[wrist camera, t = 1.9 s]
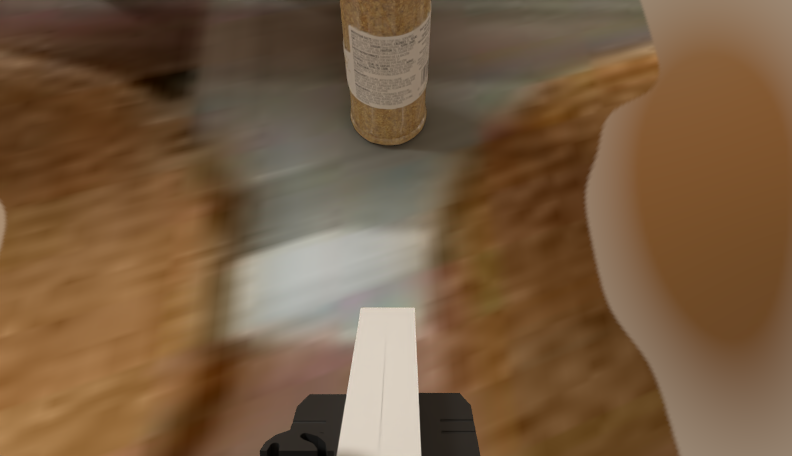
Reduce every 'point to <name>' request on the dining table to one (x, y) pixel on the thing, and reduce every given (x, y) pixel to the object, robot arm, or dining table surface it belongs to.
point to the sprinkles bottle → (387, 66)
